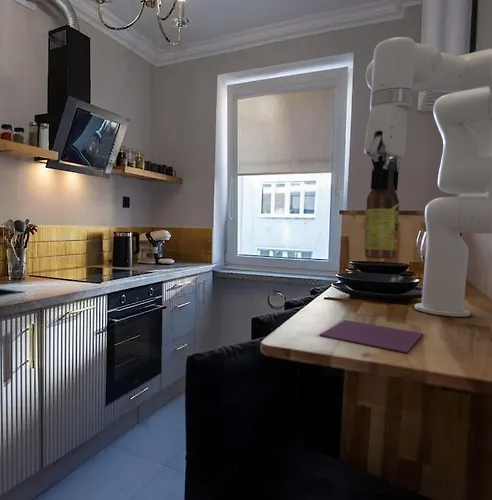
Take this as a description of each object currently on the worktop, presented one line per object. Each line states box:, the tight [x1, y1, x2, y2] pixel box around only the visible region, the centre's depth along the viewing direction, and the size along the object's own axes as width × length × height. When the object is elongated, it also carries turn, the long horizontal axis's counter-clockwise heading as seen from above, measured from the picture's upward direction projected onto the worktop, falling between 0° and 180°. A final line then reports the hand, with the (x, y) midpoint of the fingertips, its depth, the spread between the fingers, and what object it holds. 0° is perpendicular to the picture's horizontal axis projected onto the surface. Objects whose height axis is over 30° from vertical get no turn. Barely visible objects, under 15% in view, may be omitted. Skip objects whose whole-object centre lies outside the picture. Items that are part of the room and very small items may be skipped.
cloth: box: [319, 319, 424, 354], centre depth 91 cm, size 18×16×1 cm
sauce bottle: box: [363, 163, 400, 259], centre depth 91 cm, size 6×6×20 cm
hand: (384, 189), depth 90 cm, fingers closed on sauce bottle, 4 cm apart
